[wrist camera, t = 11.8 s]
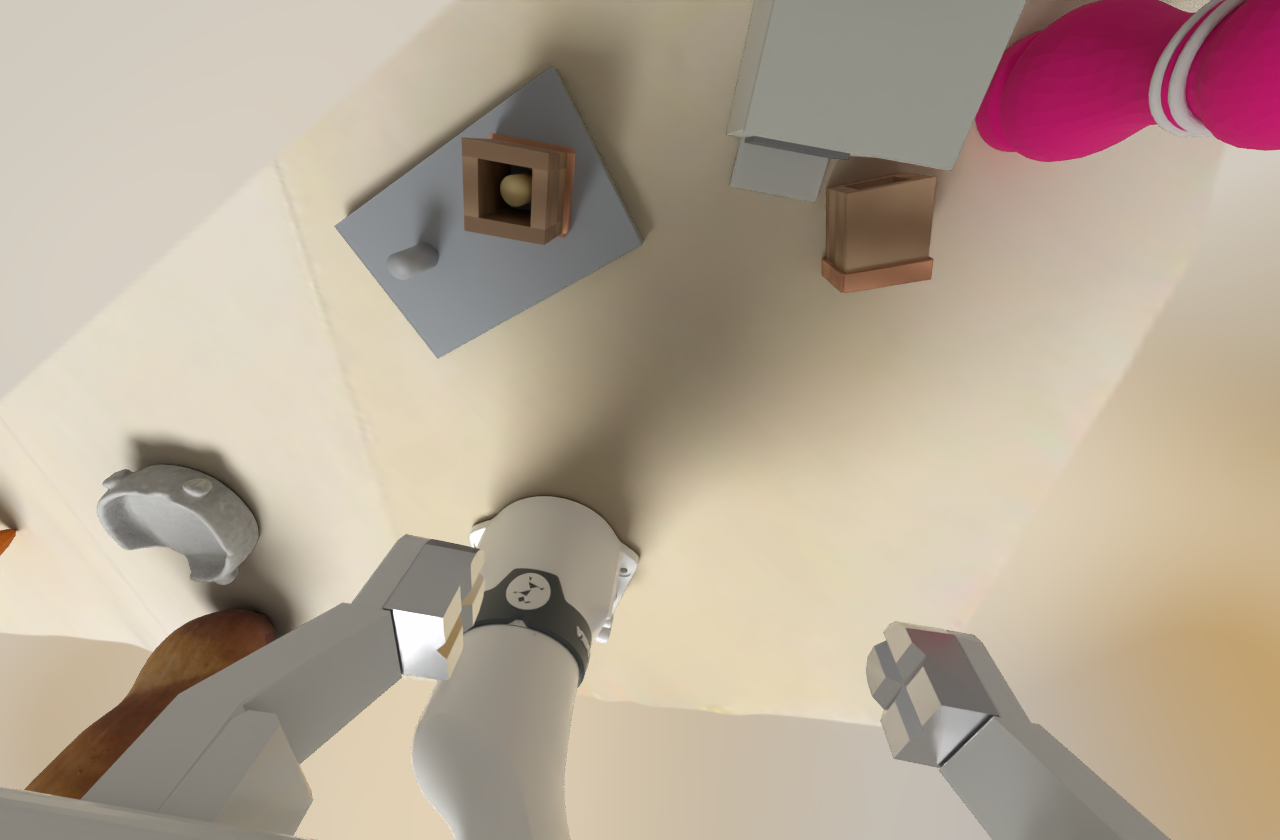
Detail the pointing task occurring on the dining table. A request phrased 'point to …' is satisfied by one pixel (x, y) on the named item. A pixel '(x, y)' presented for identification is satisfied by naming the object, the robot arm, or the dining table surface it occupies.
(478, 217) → the sleeve
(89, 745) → the butternut squash
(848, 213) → the sleeve
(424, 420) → the dining table surface
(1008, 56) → the pepper mill
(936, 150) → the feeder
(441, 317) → the pin board
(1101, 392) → the dining table surface
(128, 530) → the dish
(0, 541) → the carrot
